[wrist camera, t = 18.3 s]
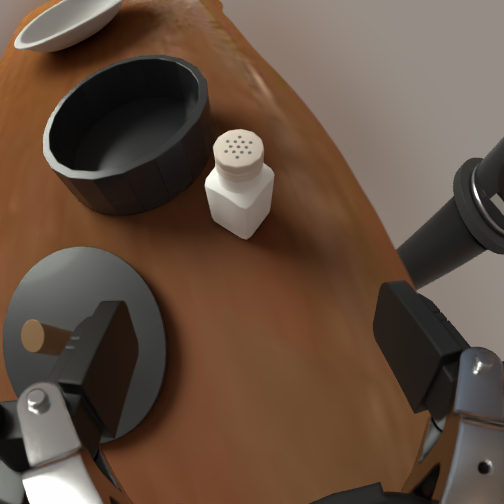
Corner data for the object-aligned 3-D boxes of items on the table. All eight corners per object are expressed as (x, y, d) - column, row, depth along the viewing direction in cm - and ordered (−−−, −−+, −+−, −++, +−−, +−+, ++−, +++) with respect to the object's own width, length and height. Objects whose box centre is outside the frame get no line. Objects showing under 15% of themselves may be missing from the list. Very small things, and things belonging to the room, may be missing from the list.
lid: (162, 238, 27) (139, 201, 21) (184, 444, 21) (162, 469, 15) (13, 262, 26) (-26, 238, 20) (18, 430, 20) (-26, 436, 14)
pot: (208, 86, 34) (203, 44, 28) (220, 201, 28) (213, 158, 22) (83, 113, 33) (64, 77, 27) (60, 228, 27) (26, 197, 21)
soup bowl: (121, -2, 47) (116, -24, 41) (153, 26, 40) (147, -4, 34) (27, 47, 43) (16, 26, 37) (27, 93, 36) (11, 66, 30)
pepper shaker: (209, 220, 28) (193, 154, 19) (236, 188, 29) (231, 116, 20) (247, 244, 27) (246, 183, 18) (272, 210, 28) (282, 141, 19)
